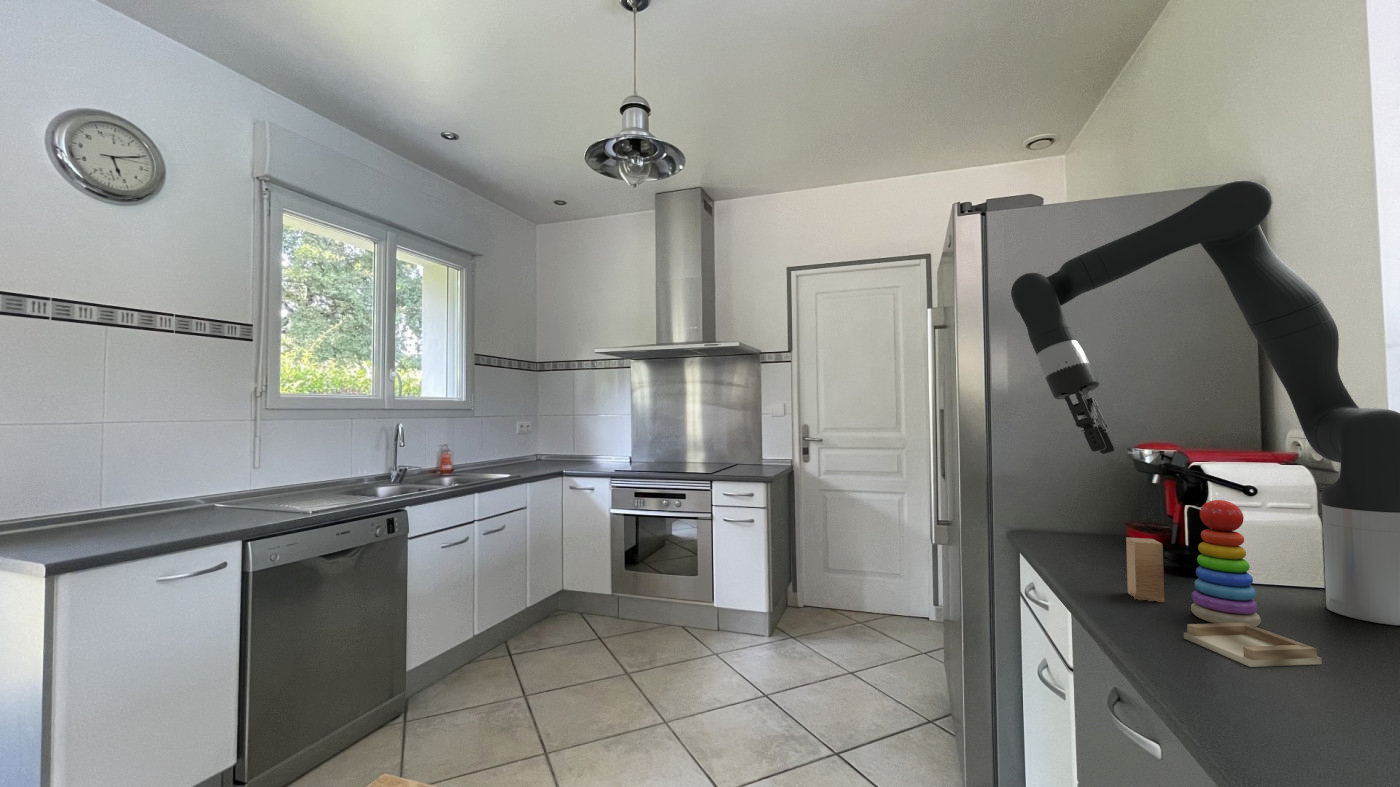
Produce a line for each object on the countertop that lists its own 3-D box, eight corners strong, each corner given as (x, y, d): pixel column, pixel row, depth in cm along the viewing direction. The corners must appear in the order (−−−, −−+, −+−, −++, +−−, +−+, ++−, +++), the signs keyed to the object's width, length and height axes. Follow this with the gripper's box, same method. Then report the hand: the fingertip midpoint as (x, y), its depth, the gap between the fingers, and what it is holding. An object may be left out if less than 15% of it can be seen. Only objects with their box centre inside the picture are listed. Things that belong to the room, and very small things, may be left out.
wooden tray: (1247, 636, 80) (1247, 622, 80) (1321, 664, 71) (1321, 648, 71) (1183, 638, 80) (1183, 624, 80) (1250, 666, 71) (1249, 651, 71)
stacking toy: (1275, 632, 82) (1271, 505, 83) (1213, 628, 84) (1209, 503, 84) (1235, 613, 90) (1231, 497, 90) (1179, 609, 91) (1175, 496, 92)
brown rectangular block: (1127, 592, 100) (1126, 537, 100) (1154, 595, 98) (1153, 539, 99) (1136, 599, 96) (1134, 542, 97) (1164, 602, 95) (1162, 543, 95)
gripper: (1080, 355, 97) (1122, 442, 91) (1096, 367, 107) (1134, 447, 101) (1035, 372, 102) (1072, 456, 96) (1054, 382, 112) (1088, 459, 106)
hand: (1104, 451), depth 99 cm, fingers open, 8 cm apart
